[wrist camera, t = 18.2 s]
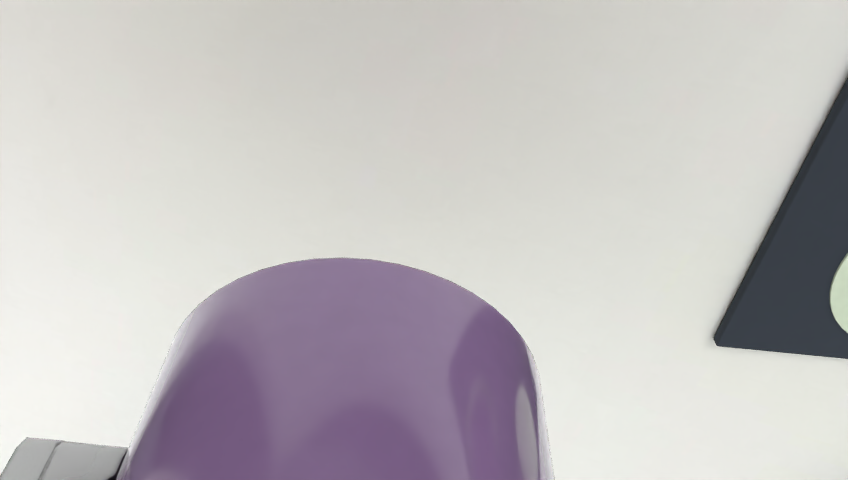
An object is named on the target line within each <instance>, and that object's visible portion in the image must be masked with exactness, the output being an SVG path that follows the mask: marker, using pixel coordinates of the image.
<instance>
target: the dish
mask: <svg viewBox="0 0 848 480" xmlns="http://www.w3.org/2000/svg"><path fill="white" fill-rule="evenodd" d="M115 480H555V479H554V472H553V465H552V458H551V452H550V445H549V438H548V431H547V424H546V418H545V411H544V404H543V397H542V390H541V384H540V377H539V372H538V369H537V366H536V363H535V360H534V357H533V355H532V353H531V351H530V350H529V348H528V346H527V345H526V343H525V341H524V339H523V338H522V337H521V335H520V334H519V333H518V332H517V331H516V329H515V328H514V327H513V326H512V324H511V323H510V322H509V321H508V320H507V319H506V318H505V317H504V316H503V315H501V314H500V313H499V312H498V311H497V310H496V309H495V308H494V307H493V306H491V305H490V304H488V303H487V302H485V301H484V300H483V299H481V298H480V297H478V296H477V295H475V294H474V293H472V292H470V291H469V290H467V289H465V288H463V287H461V286H459V285H457V284H455V283H453V282H451V281H449V280H447V279H444V278H442V277H439V276H436V275H434V274H431V273H429V272H426V271H423V270H419V269H415V268H412V267H408V266H404V265H401V264H396V263H390V262H384V261H378V260H372V259H357V258H319V259H309V260H302V261H295V262H288V263H284V264H280V265H276V266H272V267H269V268H265V269H261V270H258V271H256V272H253V273H251V274H248V275H246V276H243V277H241V278H238V279H236V280H235V281H233V282H231V283H229V284H228V285H226V286H224V287H222V288H220V289H219V290H217V291H216V292H214V293H213V294H212V295H210V296H209V297H208V298H207V299H205V300H204V301H203V302H201V303H200V304H199V305H198V306H197V307H196V308H195V309H194V310H193V311H192V312H191V313H190V315H189V316H188V317H187V318H186V319H185V320H184V322H183V323H182V325H181V326H180V328H179V330H178V331H177V333H176V334H175V336H174V339H173V341H172V344H171V346H170V348H169V351H168V353H167V356H166V358H165V361H164V363H163V365H162V368H161V370H160V373H159V375H158V378H157V380H156V382H155V385H154V387H153V390H152V392H151V395H150V397H149V399H148V402H147V404H146V407H145V409H144V412H143V414H142V416H141V419H140V421H139V424H138V426H137V429H136V431H135V433H134V436H133V438H132V441H131V443H130V446H129V448H128V450H127V453H126V455H125V458H124V460H123V463H122V465H121V467H120V470H119V472H118V475H117V477H116V479H115Z"/></svg>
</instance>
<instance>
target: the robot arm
mask: <svg viewBox="0 0 848 480" xmlns="http://www.w3.org/2000/svg"><path fill="white" fill-rule="evenodd" d="M127 450H128V448H126V447H116V446H106V445H96V444H86V443H76V442H66V441H62V440H50V439H39V438H28V437H27V438H26V439H25V440H24V441H23V442H22V443H21V444H20V445H19V446H18V447H17V448H16V449H15V451H14V453H13V454H12V456H11V458H10V460H9V461H8V463H7V465H6V467H5V469H4V470H3V472H2V474H1V476H0V480H115V479H116V477H117V475H118V472H119V470H120V467H121V465H122V463H123V460H124V458H125V455H126V453H127Z"/></svg>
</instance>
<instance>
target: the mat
mask: <svg viewBox="0 0 848 480" xmlns="http://www.w3.org/2000/svg"><path fill="white" fill-rule="evenodd" d="M714 341H715V343H716V345H717V346H722V347H732V348H742V349H752V350H763V351H773V352H783V353H794V354H804V355H814V356H824V357H835V358H845V359H848V78H847V80H846V82H845V84H844V86H843V88H842V90H841V92H840V94H839V96H838V98H837V99H836V101H835V103H834V105H833V107H832V109H831V111H830V113H829V115H828V117H827V119H826V121H825V123H824V125H823V127H822V128H821V130H820V132H819V134H818V136H817V138H816V140H815V142H814V144H813V146H812V148H811V150H810V152H809V154H808V156H807V158H806V159H805V161H804V163H803V165H802V167H801V169H800V171H799V173H798V175H797V177H796V179H795V181H794V183H793V185H792V187H791V189H790V190H789V192H788V194H787V196H786V198H785V200H784V202H783V204H782V206H781V208H780V210H779V212H778V214H777V216H776V218H775V220H774V221H773V223H772V225H771V227H770V229H769V231H768V233H767V235H766V237H765V239H764V241H763V243H762V245H761V247H760V249H759V251H758V252H757V254H756V256H755V258H754V260H753V262H752V264H751V266H750V268H749V270H748V272H747V274H746V276H745V278H744V280H743V282H742V283H741V285H740V287H739V289H738V291H737V293H736V295H735V297H734V299H733V301H732V303H731V305H730V307H729V309H728V311H727V313H726V314H725V316H724V318H723V320H722V322H721V324H720V326H719V328H718V330H717V332H716V334H715V336H714Z"/></svg>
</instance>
